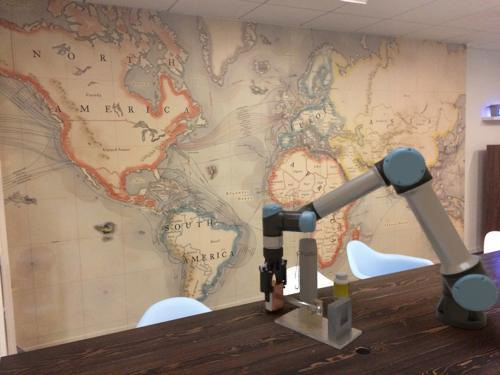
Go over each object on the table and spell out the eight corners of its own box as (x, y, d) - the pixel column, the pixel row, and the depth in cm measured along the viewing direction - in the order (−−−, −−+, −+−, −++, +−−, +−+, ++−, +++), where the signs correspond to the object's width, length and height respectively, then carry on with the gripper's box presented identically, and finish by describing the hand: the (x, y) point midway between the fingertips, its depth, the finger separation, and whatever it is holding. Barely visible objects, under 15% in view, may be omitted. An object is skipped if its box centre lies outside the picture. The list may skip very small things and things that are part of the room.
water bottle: (317, 297, 145) (316, 237, 143) (318, 305, 137) (318, 242, 135) (294, 296, 146) (293, 237, 144) (295, 304, 138) (294, 242, 136)
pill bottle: (351, 303, 138) (351, 275, 137) (335, 303, 138) (335, 276, 137) (347, 297, 144) (347, 270, 143) (332, 297, 144) (332, 271, 144)
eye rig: (361, 333, 114) (361, 299, 113) (340, 349, 105) (340, 312, 104) (297, 310, 133) (297, 280, 132) (274, 322, 124) (274, 290, 123)
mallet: (326, 321, 119) (326, 296, 118) (318, 327, 115) (317, 300, 114) (273, 302, 136) (273, 279, 135) (264, 306, 132) (264, 283, 132)
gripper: (281, 240, 139) (282, 297, 141) (248, 249, 127) (250, 312, 129) (296, 243, 134) (297, 302, 136) (263, 253, 121) (265, 318, 123)
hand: (274, 307), depth 132 cm, fingers closed on mallet, 5 cm apart
